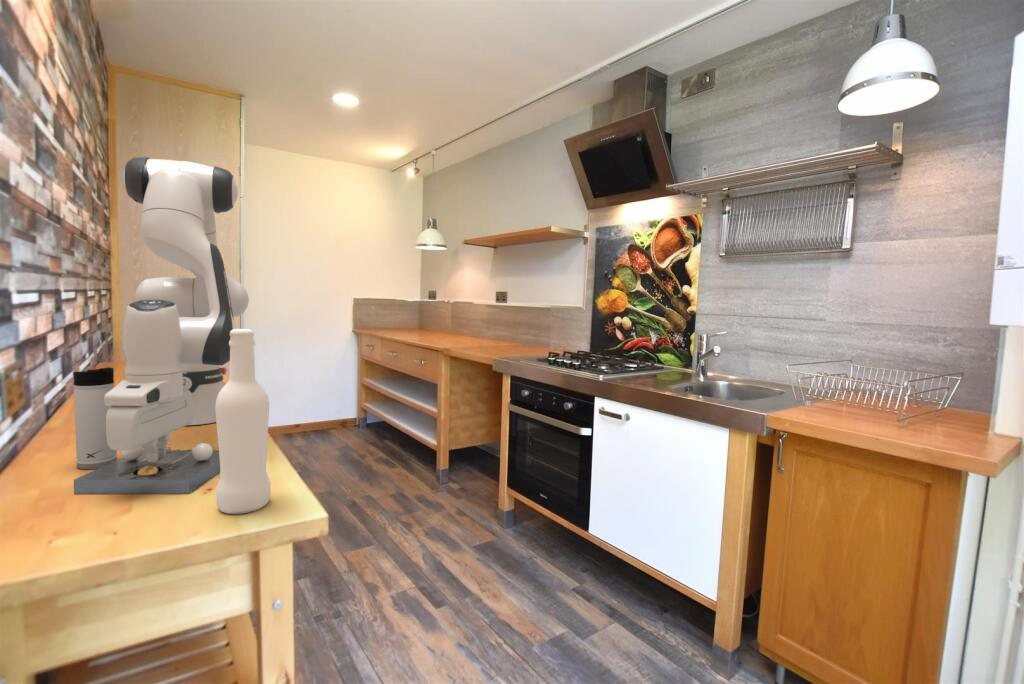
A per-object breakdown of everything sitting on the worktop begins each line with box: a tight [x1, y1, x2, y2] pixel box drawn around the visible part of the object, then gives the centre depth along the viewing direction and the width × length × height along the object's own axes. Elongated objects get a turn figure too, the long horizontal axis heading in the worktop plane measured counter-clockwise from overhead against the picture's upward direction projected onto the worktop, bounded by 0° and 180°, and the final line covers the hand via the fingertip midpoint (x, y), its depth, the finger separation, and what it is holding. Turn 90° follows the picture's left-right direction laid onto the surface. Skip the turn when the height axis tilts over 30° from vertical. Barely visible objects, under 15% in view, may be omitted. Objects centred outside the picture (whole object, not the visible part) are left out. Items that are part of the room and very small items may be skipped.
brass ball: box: [137, 466, 159, 475], centre depth 91 cm, size 4×4×4 cm
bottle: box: [215, 328, 272, 515], centre depth 83 cm, size 8×8×30 cm
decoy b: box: [120, 446, 144, 461], centre depth 96 cm, size 4×4×4 cm
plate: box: [73, 446, 220, 495], centre depth 95 cm, size 17×19×3 cm
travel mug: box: [73, 366, 118, 471], centre depth 100 cm, size 6×7×20 cm
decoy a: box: [192, 442, 214, 461], centre depth 98 cm, size 4×4×4 cm
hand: (156, 459), depth 94 cm, fingers closed
